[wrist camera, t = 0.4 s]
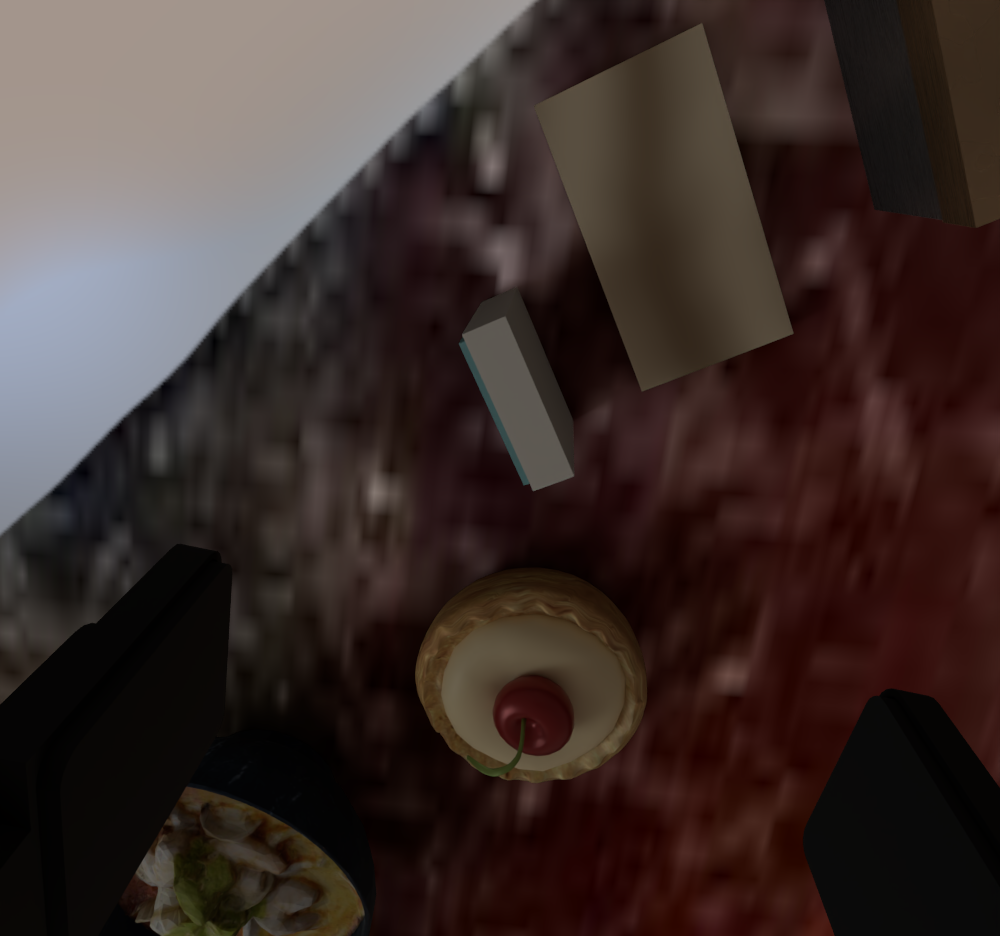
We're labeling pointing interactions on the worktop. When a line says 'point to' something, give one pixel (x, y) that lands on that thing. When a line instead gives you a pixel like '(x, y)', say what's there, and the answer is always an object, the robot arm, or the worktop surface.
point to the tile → (520, 389)
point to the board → (667, 209)
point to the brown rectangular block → (925, 103)
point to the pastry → (532, 675)
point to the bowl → (254, 851)
